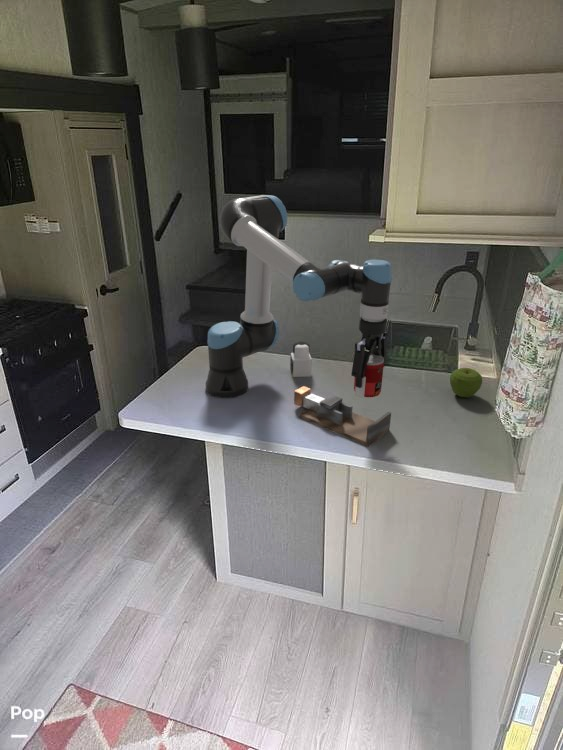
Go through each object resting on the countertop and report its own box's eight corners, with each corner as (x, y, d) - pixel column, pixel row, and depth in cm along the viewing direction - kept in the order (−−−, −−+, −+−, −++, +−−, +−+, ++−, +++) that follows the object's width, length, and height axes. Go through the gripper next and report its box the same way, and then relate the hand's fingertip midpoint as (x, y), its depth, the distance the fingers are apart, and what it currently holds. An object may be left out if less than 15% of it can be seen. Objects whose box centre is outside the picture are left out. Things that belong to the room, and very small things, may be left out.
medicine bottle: (290, 369, 198) (290, 340, 193) (308, 368, 199) (309, 339, 194) (292, 377, 192) (293, 347, 187) (311, 376, 193) (312, 347, 188)
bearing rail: (299, 417, 166) (299, 399, 163) (321, 403, 174) (322, 386, 172) (368, 446, 151) (370, 427, 148) (389, 430, 159) (391, 411, 156)
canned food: (380, 399, 148) (384, 364, 143) (352, 396, 150) (355, 361, 145) (381, 387, 155) (384, 353, 150) (354, 384, 156) (357, 351, 152)
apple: (448, 386, 186) (452, 361, 182) (479, 391, 183) (484, 365, 179) (446, 399, 177) (450, 373, 173) (478, 405, 174) (483, 378, 169)
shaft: (294, 403, 171) (294, 391, 169) (303, 398, 174) (303, 386, 172) (331, 419, 162) (331, 405, 160) (339, 413, 165) (340, 400, 163)
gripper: (365, 330, 133) (359, 408, 143) (403, 311, 147) (395, 382, 157) (340, 324, 137) (336, 399, 147) (380, 305, 151) (374, 375, 161)
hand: (367, 391), depth 152 cm, fingers closed on canned food, 8 cm apart
